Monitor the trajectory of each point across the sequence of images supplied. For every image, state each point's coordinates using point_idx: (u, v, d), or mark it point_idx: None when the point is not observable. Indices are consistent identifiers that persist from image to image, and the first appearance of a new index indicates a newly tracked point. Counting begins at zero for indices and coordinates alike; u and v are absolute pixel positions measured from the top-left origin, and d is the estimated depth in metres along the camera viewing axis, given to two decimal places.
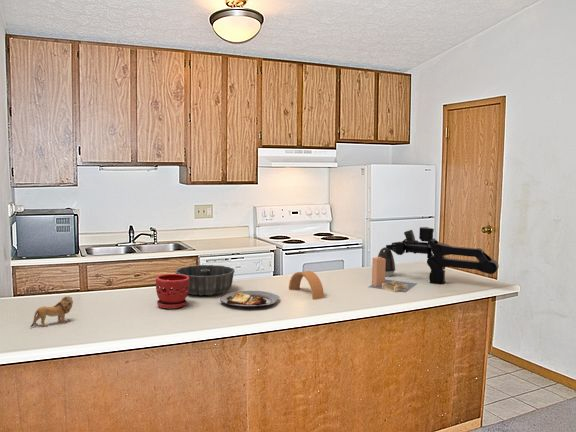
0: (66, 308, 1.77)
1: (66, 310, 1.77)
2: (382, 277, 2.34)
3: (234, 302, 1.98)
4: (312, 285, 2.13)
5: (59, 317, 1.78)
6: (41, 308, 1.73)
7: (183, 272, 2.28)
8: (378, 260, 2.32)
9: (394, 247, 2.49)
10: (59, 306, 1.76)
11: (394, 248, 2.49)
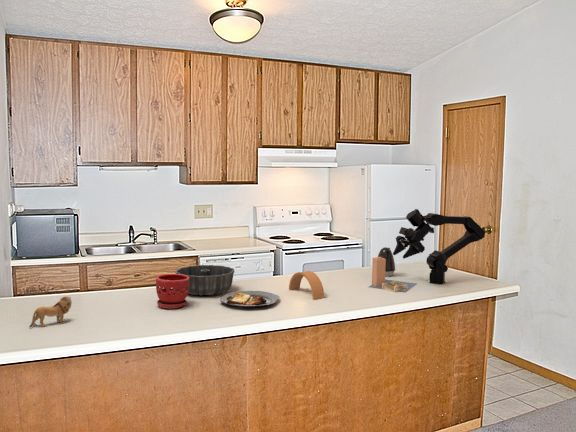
0: (65, 308, 1.77)
1: (65, 310, 1.77)
2: (382, 277, 2.34)
3: (234, 302, 1.98)
4: (312, 285, 2.13)
5: (58, 317, 1.78)
6: (40, 308, 1.73)
7: (183, 272, 2.28)
8: (378, 260, 2.32)
9: (411, 251, 2.34)
10: (57, 306, 1.76)
11: (412, 252, 2.34)
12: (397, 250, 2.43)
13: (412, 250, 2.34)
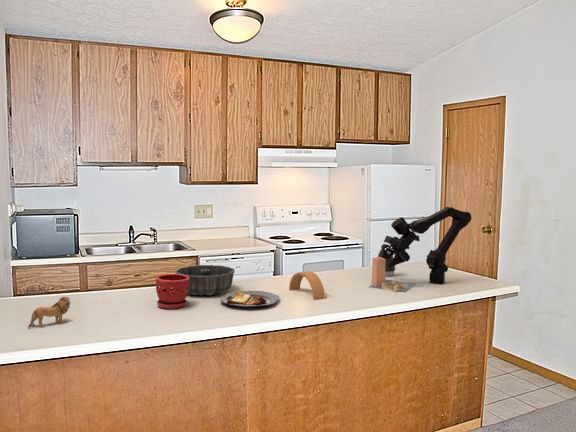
0: (64, 308, 1.76)
1: (64, 310, 1.76)
2: (382, 277, 2.34)
3: (234, 302, 1.98)
4: (313, 285, 2.13)
5: (57, 317, 1.78)
6: (39, 308, 1.72)
7: (183, 272, 2.28)
8: (378, 260, 2.32)
9: (396, 260, 2.31)
10: (56, 306, 1.75)
11: (397, 260, 2.31)
12: None
13: (397, 259, 2.31)
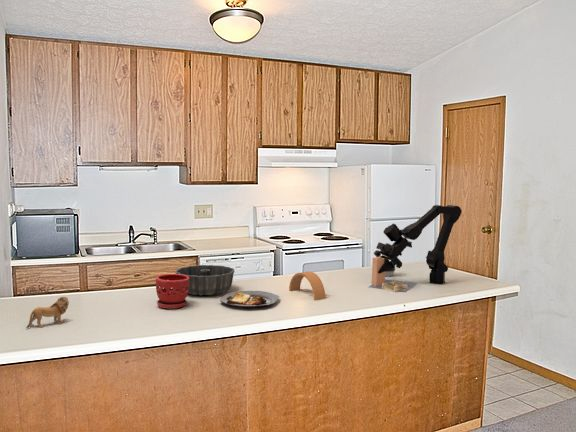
0: (62, 308, 1.76)
1: (62, 310, 1.76)
2: (382, 277, 2.34)
3: (234, 302, 1.98)
4: (313, 286, 2.12)
5: (55, 318, 1.77)
6: (37, 309, 1.72)
7: (183, 272, 2.28)
8: (378, 260, 2.32)
9: (386, 266, 2.32)
10: (55, 307, 1.75)
11: (387, 266, 2.33)
12: None
13: (387, 265, 2.33)
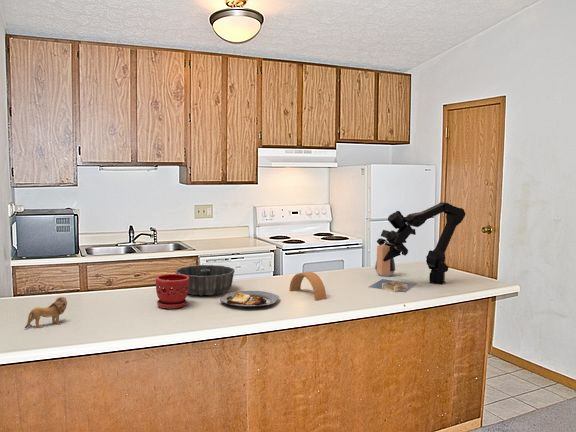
0: (60, 309, 1.76)
1: (60, 311, 1.76)
2: (387, 265, 2.31)
3: (234, 302, 1.98)
4: (314, 286, 2.12)
5: (53, 318, 1.77)
6: (35, 309, 1.72)
7: (183, 272, 2.28)
8: (383, 248, 2.29)
9: (391, 253, 2.30)
10: (53, 307, 1.75)
11: (392, 254, 2.30)
12: None
13: (392, 252, 2.30)
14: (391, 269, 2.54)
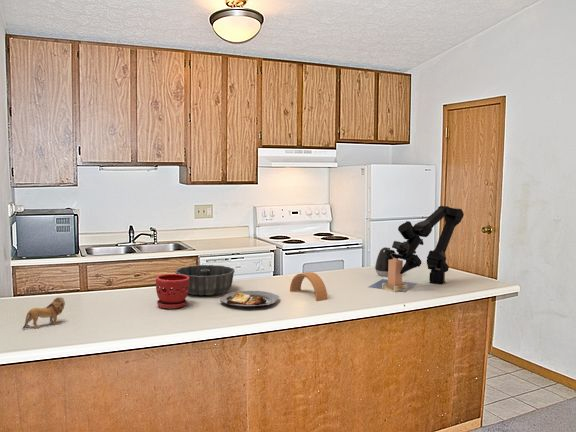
0: (58, 309, 1.75)
1: (58, 311, 1.75)
2: (400, 280, 2.27)
3: (234, 302, 1.98)
4: (315, 286, 2.11)
5: (51, 318, 1.76)
6: (33, 309, 1.71)
7: (183, 272, 2.28)
8: (396, 262, 2.25)
9: (408, 265, 2.24)
10: (51, 307, 1.74)
11: (408, 266, 2.25)
12: None
13: (409, 265, 2.25)
14: None
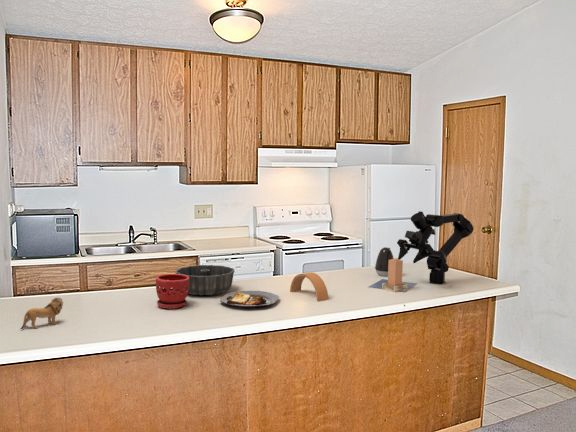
0: (57, 309, 1.75)
1: (57, 311, 1.75)
2: (400, 280, 2.27)
3: (234, 302, 1.98)
4: (316, 287, 2.10)
5: (49, 319, 1.76)
6: (31, 310, 1.71)
7: (183, 272, 2.28)
8: (396, 262, 2.25)
9: (420, 255, 2.29)
10: (49, 308, 1.74)
11: (421, 255, 2.29)
12: (401, 254, 2.36)
13: (421, 254, 2.29)
14: None
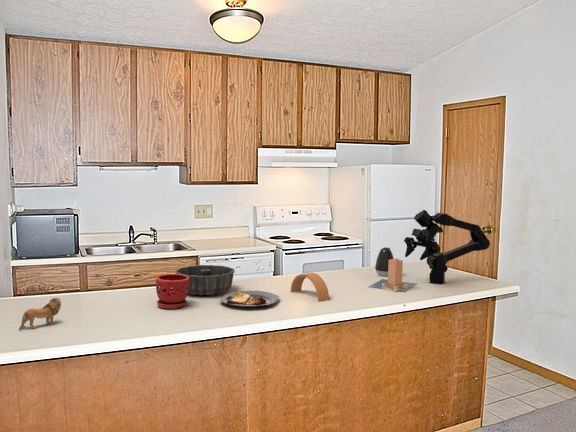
0: (55, 310, 1.75)
1: (55, 312, 1.75)
2: (400, 280, 2.27)
3: (234, 302, 1.98)
4: (317, 287, 2.10)
5: (47, 319, 1.76)
6: (29, 310, 1.70)
7: (183, 272, 2.28)
8: (396, 262, 2.25)
9: (427, 252, 2.33)
10: (47, 308, 1.74)
11: (428, 253, 2.34)
12: (408, 252, 2.41)
13: (428, 251, 2.34)
14: None
